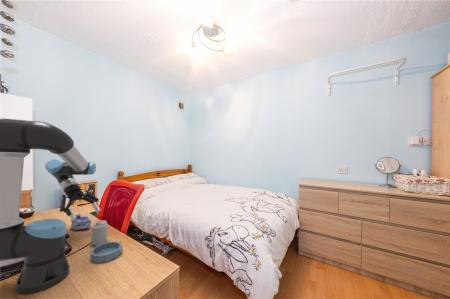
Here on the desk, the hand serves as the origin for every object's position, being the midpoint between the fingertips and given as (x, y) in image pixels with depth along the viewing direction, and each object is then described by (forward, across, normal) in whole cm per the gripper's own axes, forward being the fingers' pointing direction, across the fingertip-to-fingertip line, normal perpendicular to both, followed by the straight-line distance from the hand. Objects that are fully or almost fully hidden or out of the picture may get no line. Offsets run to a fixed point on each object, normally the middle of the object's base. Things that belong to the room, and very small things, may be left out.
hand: (87, 215), depth 102 cm
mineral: (-3, -9, -24) cm, 26 cm away
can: (+18, 0, -3) cm, 18 cm away
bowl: (+28, +7, +7) cm, 29 cm away
